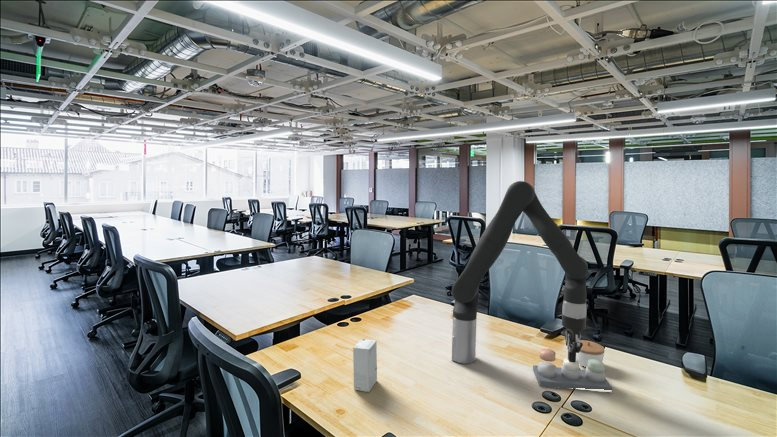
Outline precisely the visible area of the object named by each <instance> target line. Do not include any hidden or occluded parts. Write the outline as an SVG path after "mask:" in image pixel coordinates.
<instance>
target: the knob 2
mask: <svg viewBox="0 0 777 437" xmlns="http://www.w3.org/2000/svg"><path fill="white" fill-rule="evenodd" d="M587 368H588V369H589V370H590V371H592V372H595V373H603V372H604V370H605V363H604V362H603V361H602V362H601V361H598V360H594V359H590V360H588V366H587Z"/></svg>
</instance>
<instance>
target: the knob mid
mask: <svg viewBox="0 0 777 437" xmlns="http://www.w3.org/2000/svg"><path fill="white" fill-rule="evenodd" d="M562 365H563V367H564V368H565V369H567V370H570V371H578V370H579V368H580V365H579V361H578V360H576V362H569V360H568V357H565V358H563V362H562Z"/></svg>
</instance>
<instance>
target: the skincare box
mask: <svg viewBox="0 0 777 437" xmlns="http://www.w3.org/2000/svg"><path fill="white" fill-rule="evenodd" d="M377 347H378V346H377V340H375V339H373V340H372V339H367V338H366V339H363V338H362V339H361V340H360V341H358V342H357V343H356V345H355V346H354V347H352V351H353V354H352V355H353V361H352V363H353V389H354V390H356V391H361V392H365V393H370V391H371V389H372V388H373V386H374V385H375V384H376V383H377V382H378V361H377V360H378V357H377V356H378V355H377V353H378V352H377V349H378V348H377Z"/></svg>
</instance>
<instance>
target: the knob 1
mask: <svg viewBox="0 0 777 437" xmlns="http://www.w3.org/2000/svg"><path fill="white" fill-rule="evenodd" d="M539 358H540V359H541V360H542V361H544V362H549V363H552V362H554V361H556V352H555V351H554V350H553V349H551V348H541V349H539Z"/></svg>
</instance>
